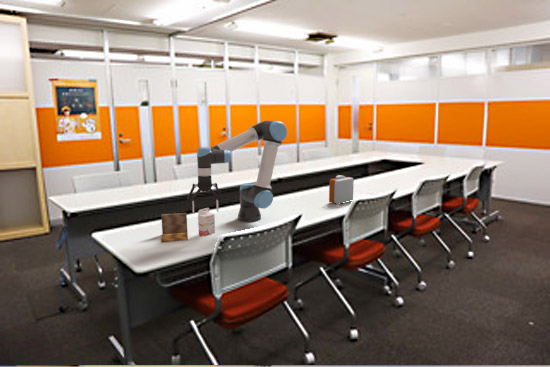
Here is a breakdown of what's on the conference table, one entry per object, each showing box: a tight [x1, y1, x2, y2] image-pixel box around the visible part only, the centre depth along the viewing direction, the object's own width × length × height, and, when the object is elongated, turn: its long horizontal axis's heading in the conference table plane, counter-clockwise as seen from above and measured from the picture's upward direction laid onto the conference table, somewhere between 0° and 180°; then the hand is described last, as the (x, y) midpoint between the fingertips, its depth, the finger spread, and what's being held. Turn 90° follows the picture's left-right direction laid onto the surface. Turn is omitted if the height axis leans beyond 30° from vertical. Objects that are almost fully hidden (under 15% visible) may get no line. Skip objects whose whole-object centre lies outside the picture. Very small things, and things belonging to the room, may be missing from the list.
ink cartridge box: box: [197, 207, 216, 237], centre depth 225 cm, size 9×5×15 cm, turn 141°
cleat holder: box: [160, 212, 189, 243], centre depth 219 cm, size 14×13×12 cm
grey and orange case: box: [328, 174, 355, 205], centre depth 296 cm, size 18×9×21 cm, turn 130°
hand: (205, 211), depth 224 cm, fingers open, 13 cm apart
